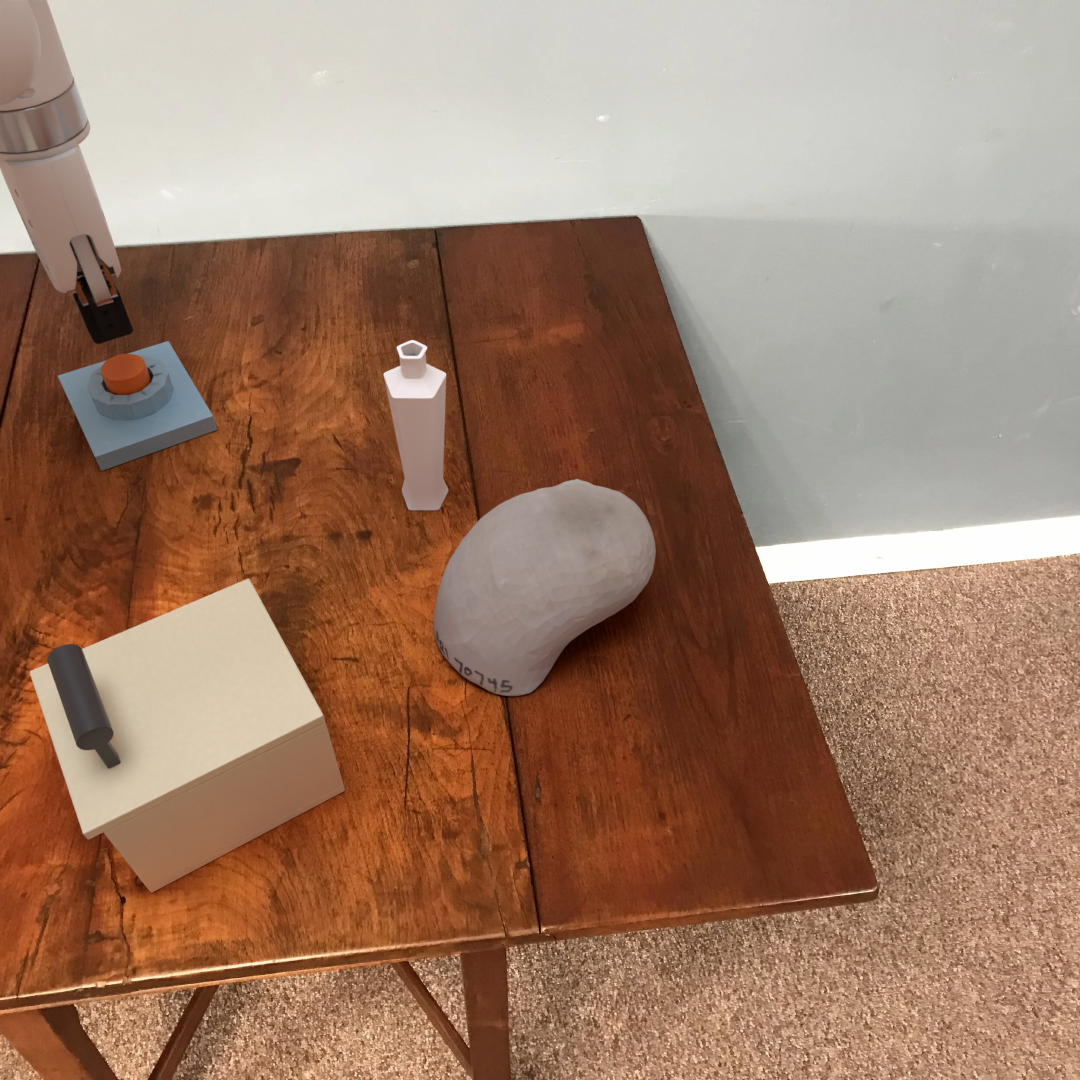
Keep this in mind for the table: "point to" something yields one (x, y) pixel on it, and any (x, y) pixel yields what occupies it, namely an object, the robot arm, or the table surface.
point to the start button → (125, 374)
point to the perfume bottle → (419, 425)
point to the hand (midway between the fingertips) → (111, 333)
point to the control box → (138, 409)
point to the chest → (229, 809)
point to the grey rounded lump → (539, 581)
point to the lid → (170, 704)
